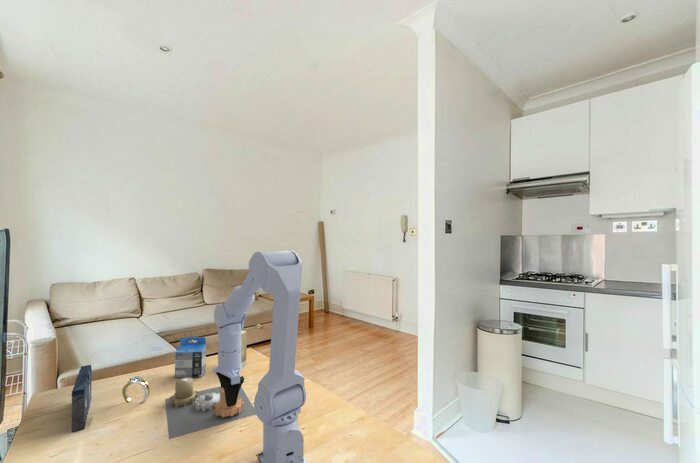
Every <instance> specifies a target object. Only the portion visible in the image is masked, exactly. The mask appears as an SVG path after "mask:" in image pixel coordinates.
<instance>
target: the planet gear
mask: <svg viewBox="0 0 700 463" xmlns="http://www.w3.org/2000/svg"><path fill="white" fill-rule="evenodd" d="M243 405H244V402H242V399H241V398H240V399H239V394H238V398H237V403H236V405H234V406H230V407H227V404H226V399H225V392H224V389H223V387H222V388H221V389H220V401H219V402H218V404H217V405H215V412H216V415H217V416H218V415H220V416H222V417H225V416H234V414H237V413H240V412H241V409H243Z"/></svg>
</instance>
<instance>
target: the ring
mask: <svg viewBox="0 0 700 463" xmlns="http://www.w3.org/2000/svg"><path fill="white" fill-rule="evenodd" d="M133 384H137V385H140V386H142V387H143V388H142V389H143V390H144V396H143V397H144V398H143V399H142V400H141V401H140V402H139V403H140V404H143V403H145V402H146V401H148V398H149V396H150V390H151V389H150V385H149V383H148V382H147V381H146V380H145V379H144V378H143V377H142V376H139V375H135V376H134V377H129V381H128V382H126V384H124V385H123V387H122V390H121V391H122V392H121V393H122V397H123V398H124V401H125V402H126V403H131V402H133V400H132V399H131V398H130V397H129V394H128V390H129V386H132V385H133Z"/></svg>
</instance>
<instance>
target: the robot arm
mask: <svg viewBox="0 0 700 463" xmlns="http://www.w3.org/2000/svg"><path fill="white" fill-rule="evenodd" d="M302 273H303V261H302V260H301V258H300V256H299V255H298V253H297V252H296V251H294V250H291V249H290V250H283V251H281V250H280V251H278V250H277V251H256V252H254V253H252V255H251V257H250V260H248V273H247V274H246V277H245V278H244V280H243V282H242V284H241V285H236V286H234V288H233V290H232V291H231V293H230V294H229V296H228V297H227V298H226V300H225V301H224V303H217V304H216V305H215V307H214V311H213V319H214V323H215V325H216V326H217V366H214V367H212V372H213V373H215V374H216V376H217V377H218V380H219V384H220V386H221V388H222V387H223V389H224V392H225V399H226V404H227V407H230V406H234V405H236V403H237V398H238V394H239V390H240V388H241V387H242V386H243V383H244V382H245V377H244V376H243V375H242V376H241V373H242V372H241V371H242V368H243V367H242V364H241V331H244V330H243V329H244V326H245V325H244V324H245V321H246V318H247V313H246V312H247V311H248V309H249V308H250V307H251V305H252V304H254V302H255V299H256V298H255V297H256V296H255V293H257V291H258V290H259V289H260V288H261V289H262V290H263V292H264V293H265V294H268V295H271V296H272V298H273V307H272V309H273V310H272V322H271V323H272V325H271V336H270V337H271V338H270V349H269V350H270V351H269V364H268V365H269V366H268V371H267V372H266V373H265V374H264V376H263V377H261V379H260V380H259V382H258V384H257V392H256V394H255V396H254V401H253V407H254V409H255V412H256V414H255V415H256V417H257V418H258V420H260V421H261V422H262V423H263V424H262V427H263V428H262V432H263V434H262V436H263V437H262V442H263V443H262V452H260V453H257V457H258V459H259V460H260V462H261V463H308V461H307V460H306V458H305V457H304V444H305V442H304V435H303V433H302V430H301V429H300V427H299V423H298V422H299V414H301V409H302V407H303V406H304V405H305V403H306V401H307V391H306V386H305V377H304V375H303V374H302V373H301V372H300V371H298V370H297V369H296V359H297V358H296V356H297V344H298V343H297V342H298V341H297V340H298V331H299V329H298V328H299V319H300V318H299V316H300V315H299V313H300V304H301V303H300V302H301V287H302V277H303V276H302V275H303V274H302Z"/></svg>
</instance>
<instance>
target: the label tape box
mask: <svg viewBox="0 0 700 463" xmlns="http://www.w3.org/2000/svg"><path fill="white" fill-rule="evenodd" d="M191 341H193V342H191ZM206 342H207V341H206V336H197V337H196V336H194V337H193V336H191V337H190V336H187V337H179V343H180V344H179V345H178V347H177V349H176V350H175V354H174V356H175V357H174V358H175V359H174V379H177V378H179V379H180V378H201V377H203V376H204V375H205V374H206V365H207V364H206V363H207V362H206V359H207V358H206V357H207V356H206V355H207V353H206V350H207V349H206V348H207V344H206Z"/></svg>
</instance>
